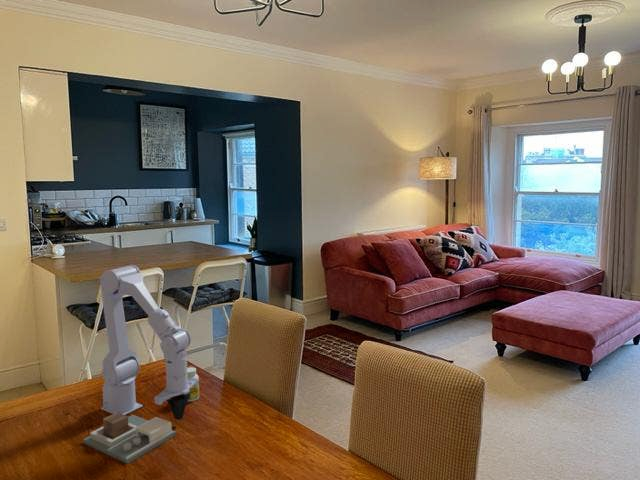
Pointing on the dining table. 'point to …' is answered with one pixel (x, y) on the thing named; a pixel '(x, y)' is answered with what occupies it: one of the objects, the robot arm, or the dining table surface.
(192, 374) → the supplement bottle
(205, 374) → the dining table surface
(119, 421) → the block
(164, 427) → the cover
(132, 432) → the housing board
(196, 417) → the dining table surface
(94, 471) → the dining table surface
